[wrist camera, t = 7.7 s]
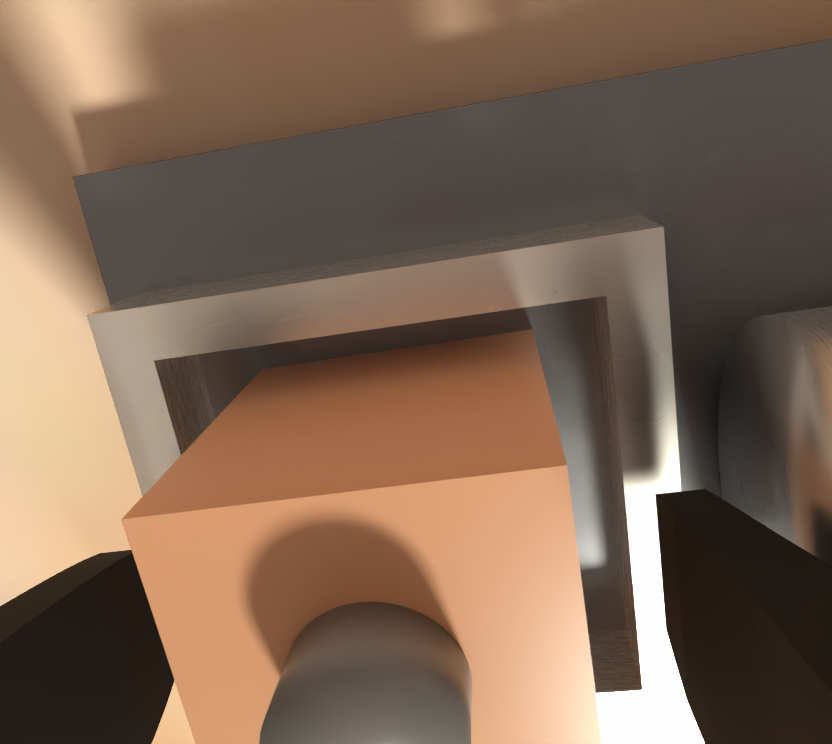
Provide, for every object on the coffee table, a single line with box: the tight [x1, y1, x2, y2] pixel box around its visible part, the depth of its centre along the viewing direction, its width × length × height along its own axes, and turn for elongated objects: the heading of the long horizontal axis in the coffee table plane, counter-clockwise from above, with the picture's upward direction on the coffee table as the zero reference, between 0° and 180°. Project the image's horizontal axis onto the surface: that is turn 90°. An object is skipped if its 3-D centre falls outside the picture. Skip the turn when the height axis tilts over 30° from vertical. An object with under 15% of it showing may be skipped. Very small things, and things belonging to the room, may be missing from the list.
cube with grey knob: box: [121, 329, 602, 744], centre depth 10 cm, size 4×4×6 cm
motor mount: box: [73, 39, 832, 744], centre depth 10 cm, size 20×12×7 cm, turn 100°
